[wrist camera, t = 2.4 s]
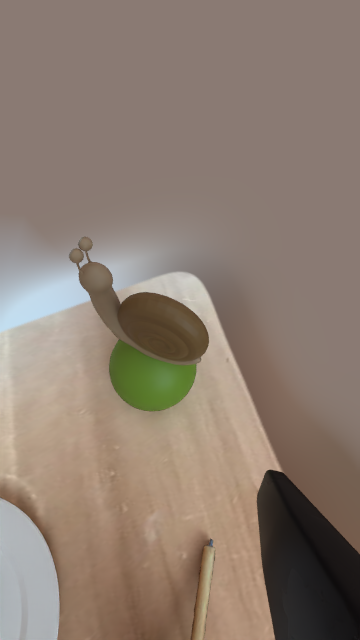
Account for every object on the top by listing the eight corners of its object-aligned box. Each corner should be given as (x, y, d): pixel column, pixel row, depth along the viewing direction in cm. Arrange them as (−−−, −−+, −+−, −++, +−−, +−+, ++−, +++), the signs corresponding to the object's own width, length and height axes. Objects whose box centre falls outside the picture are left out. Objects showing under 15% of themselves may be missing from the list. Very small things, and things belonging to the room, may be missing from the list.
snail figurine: (121, 328, 23) (107, 198, 13) (199, 361, 23) (252, 253, 12) (85, 393, 20) (28, 297, 10) (172, 432, 20) (210, 372, 9)
